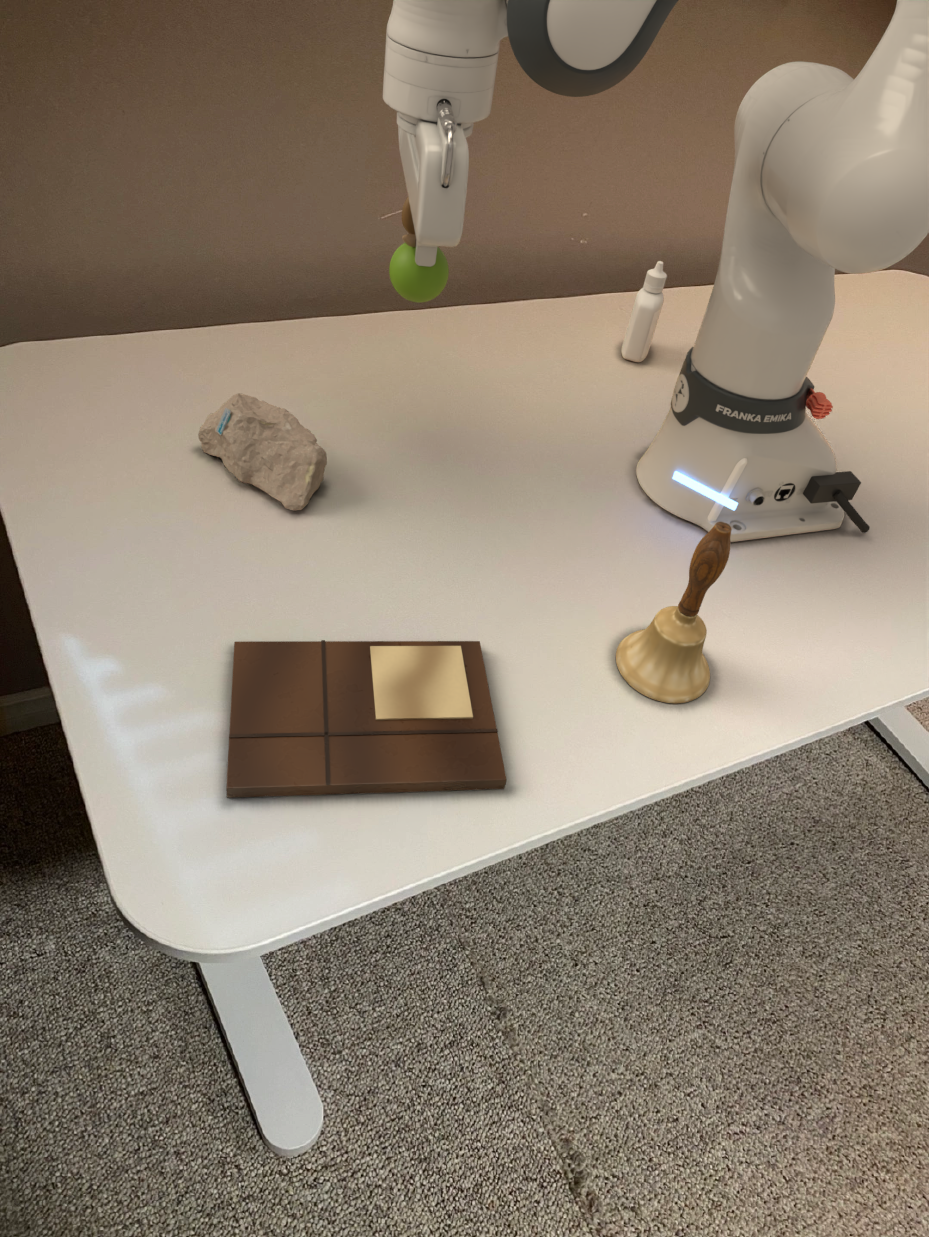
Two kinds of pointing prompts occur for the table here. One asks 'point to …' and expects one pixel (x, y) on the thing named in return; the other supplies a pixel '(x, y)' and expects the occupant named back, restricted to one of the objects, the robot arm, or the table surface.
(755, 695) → the table surface
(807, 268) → the robot arm
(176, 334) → the table surface
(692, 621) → the hand bell
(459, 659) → the game board
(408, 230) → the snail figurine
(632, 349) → the eye dropper bottle
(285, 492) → the concrete fragment
